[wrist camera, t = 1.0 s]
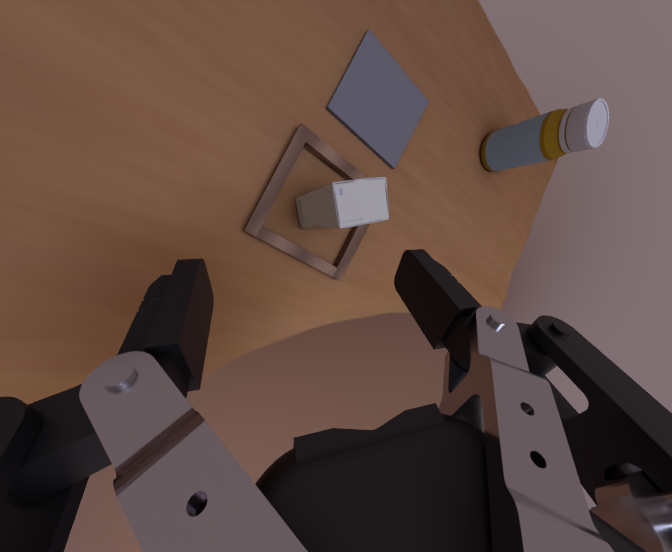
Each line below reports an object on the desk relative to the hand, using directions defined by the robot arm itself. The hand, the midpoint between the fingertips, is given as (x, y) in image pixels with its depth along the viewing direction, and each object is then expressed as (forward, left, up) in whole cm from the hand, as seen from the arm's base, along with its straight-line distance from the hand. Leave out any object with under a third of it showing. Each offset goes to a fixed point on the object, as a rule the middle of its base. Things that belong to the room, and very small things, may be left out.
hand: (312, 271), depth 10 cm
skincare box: (+6, +8, -24) cm, 26 cm away
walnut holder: (+6, +8, -24) cm, 26 cm away
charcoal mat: (+7, +26, -24) cm, 36 cm away
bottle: (+31, +36, -24) cm, 54 cm away
